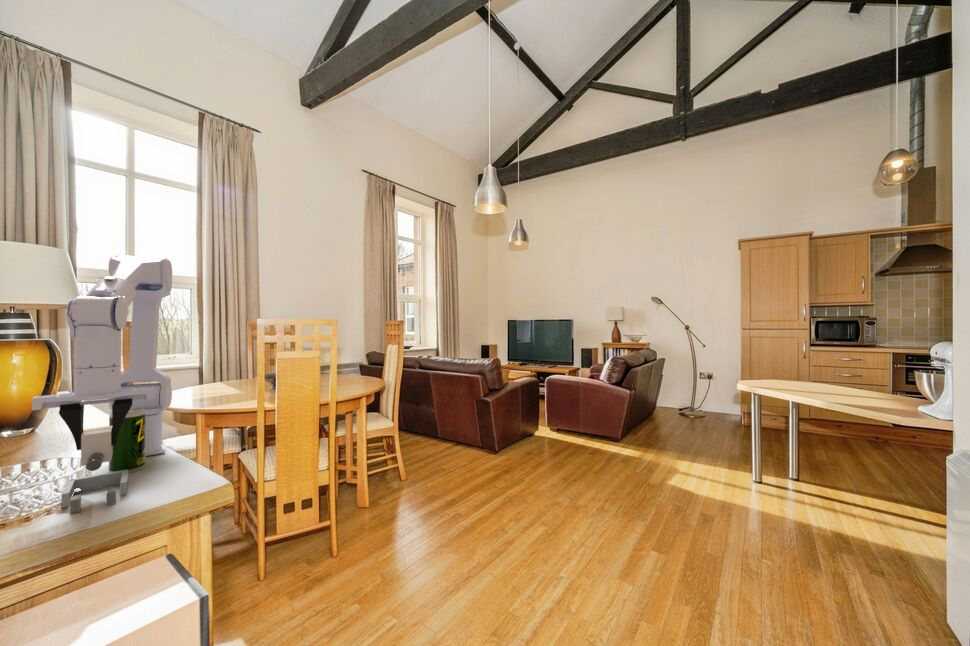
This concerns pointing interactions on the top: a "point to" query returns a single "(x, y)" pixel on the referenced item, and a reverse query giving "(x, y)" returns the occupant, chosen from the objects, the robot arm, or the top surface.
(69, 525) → the top surface
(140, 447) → the beer can
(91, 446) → the connector
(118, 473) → the grey holder frame
